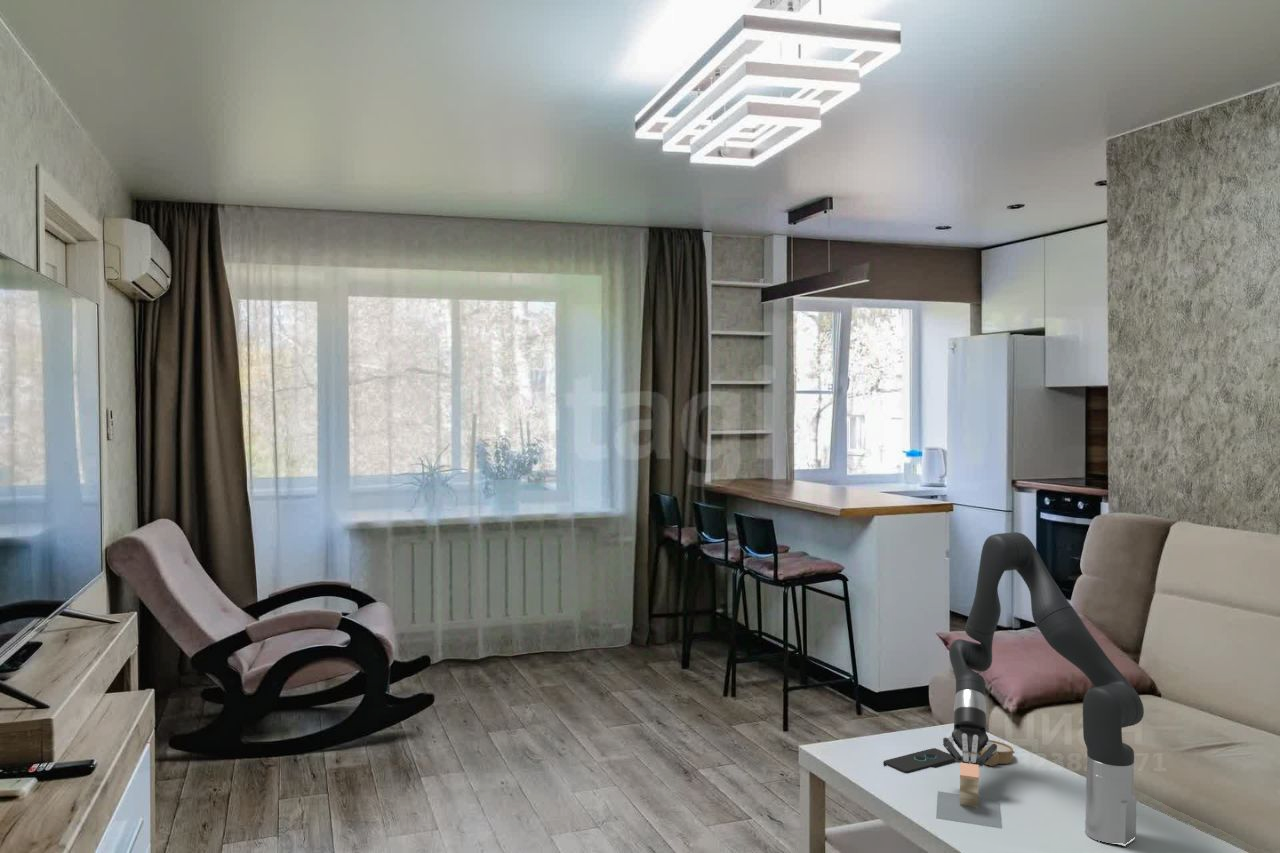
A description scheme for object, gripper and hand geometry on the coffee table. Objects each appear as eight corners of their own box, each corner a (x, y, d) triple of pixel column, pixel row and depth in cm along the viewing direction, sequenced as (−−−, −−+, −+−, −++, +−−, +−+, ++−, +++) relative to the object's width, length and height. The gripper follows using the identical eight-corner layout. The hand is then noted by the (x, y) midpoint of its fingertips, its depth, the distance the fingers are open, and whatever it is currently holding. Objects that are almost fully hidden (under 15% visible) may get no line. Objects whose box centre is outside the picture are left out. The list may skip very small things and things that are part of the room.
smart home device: (958, 756, 244) (906, 771, 234) (958, 763, 245) (905, 777, 234) (933, 747, 252) (881, 760, 241) (933, 753, 252) (881, 766, 241)
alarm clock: (1022, 748, 247) (992, 750, 238) (1019, 767, 247) (990, 769, 238) (984, 736, 256) (954, 738, 247) (981, 754, 256) (951, 756, 246)
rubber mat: (999, 802, 219) (999, 800, 219) (1002, 830, 204) (1002, 828, 204) (937, 793, 223) (937, 791, 223) (936, 820, 208) (936, 818, 208)
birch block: (977, 794, 218) (978, 764, 215) (977, 807, 214) (978, 777, 211) (959, 792, 219) (960, 762, 216) (959, 805, 216) (960, 774, 212)
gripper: (942, 702, 228) (940, 768, 217) (999, 708, 224) (1000, 777, 213) (942, 717, 233) (940, 782, 222) (997, 723, 229) (998, 791, 218)
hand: (969, 779), depth 217 cm, fingers closed
